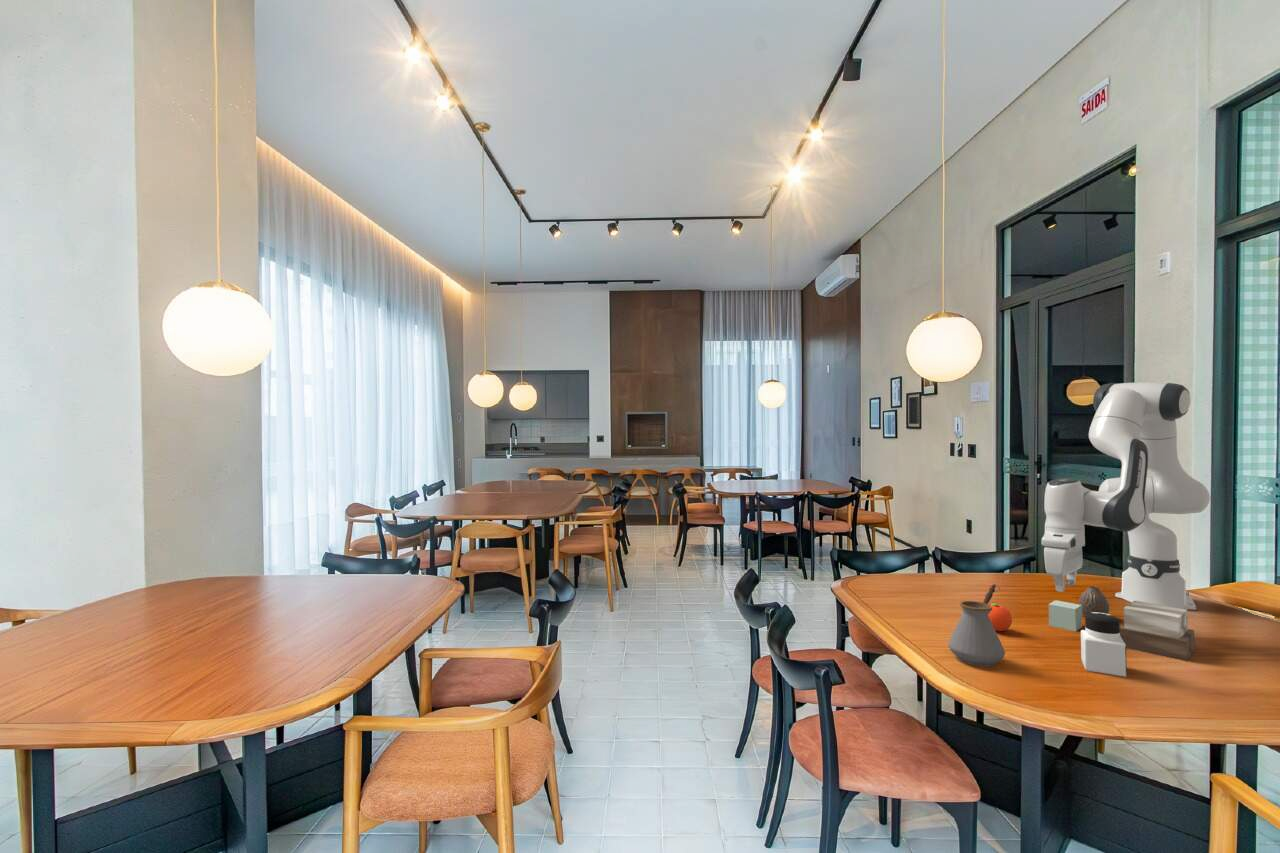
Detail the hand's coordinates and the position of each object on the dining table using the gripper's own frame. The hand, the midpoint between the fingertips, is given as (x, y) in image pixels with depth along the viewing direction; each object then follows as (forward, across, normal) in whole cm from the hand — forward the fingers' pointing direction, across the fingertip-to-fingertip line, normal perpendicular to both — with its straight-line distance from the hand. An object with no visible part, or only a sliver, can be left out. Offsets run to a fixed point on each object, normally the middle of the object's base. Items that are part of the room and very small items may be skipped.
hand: (1065, 588), depth 155 cm
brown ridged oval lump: (+10, -16, +3) cm, 19 cm away
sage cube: (+10, -1, 0) cm, 11 cm away
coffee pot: (+11, +39, -7) cm, 41 cm away
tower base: (+11, +2, +19) cm, 22 cm away
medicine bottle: (+11, +27, +13) cm, 32 cm away
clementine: (+11, +17, -12) cm, 23 cm away
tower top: (+6, +2, +19) cm, 20 cm away
